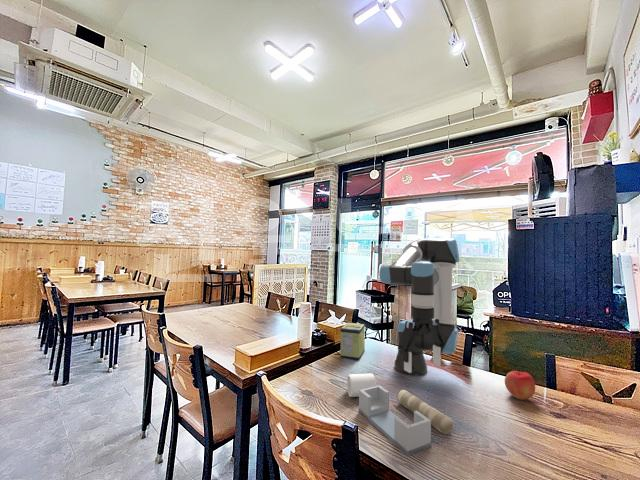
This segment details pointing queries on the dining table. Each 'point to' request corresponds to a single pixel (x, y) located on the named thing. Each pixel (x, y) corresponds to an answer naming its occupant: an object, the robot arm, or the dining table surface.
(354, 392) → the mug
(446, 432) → the beige beaded rod
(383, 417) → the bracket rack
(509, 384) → the apple
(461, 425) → the dining table surface
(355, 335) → the protein box
